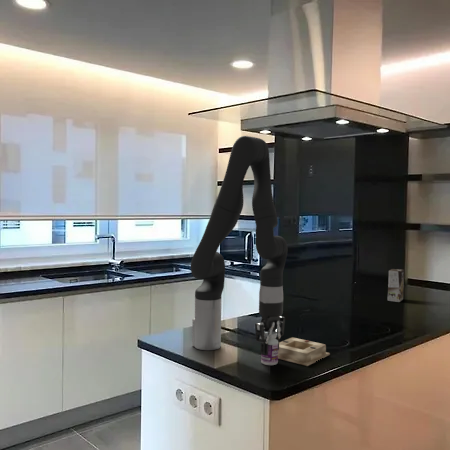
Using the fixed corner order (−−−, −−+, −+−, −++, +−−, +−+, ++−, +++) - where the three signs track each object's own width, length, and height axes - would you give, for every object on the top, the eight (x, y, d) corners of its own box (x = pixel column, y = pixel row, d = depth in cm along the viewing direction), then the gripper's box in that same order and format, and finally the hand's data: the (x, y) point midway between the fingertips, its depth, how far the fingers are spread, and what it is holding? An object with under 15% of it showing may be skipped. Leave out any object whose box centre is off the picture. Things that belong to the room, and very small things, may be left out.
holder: (267, 356, 163) (267, 344, 163) (291, 346, 175) (291, 335, 175) (307, 366, 154) (307, 354, 153) (329, 354, 165) (330, 343, 165)
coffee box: (400, 302, 255) (401, 271, 254) (387, 300, 258) (388, 270, 257) (403, 299, 263) (404, 269, 262) (391, 298, 266) (392, 268, 265)
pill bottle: (275, 366, 153) (275, 336, 152) (258, 364, 155) (259, 334, 154) (279, 361, 158) (280, 331, 157) (263, 359, 160) (264, 329, 159)
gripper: (273, 294, 163) (272, 345, 164) (247, 301, 152) (246, 355, 152) (293, 297, 158) (292, 349, 159) (268, 304, 147) (267, 360, 148)
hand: (269, 352), depth 156 cm, fingers open, 5 cm apart
